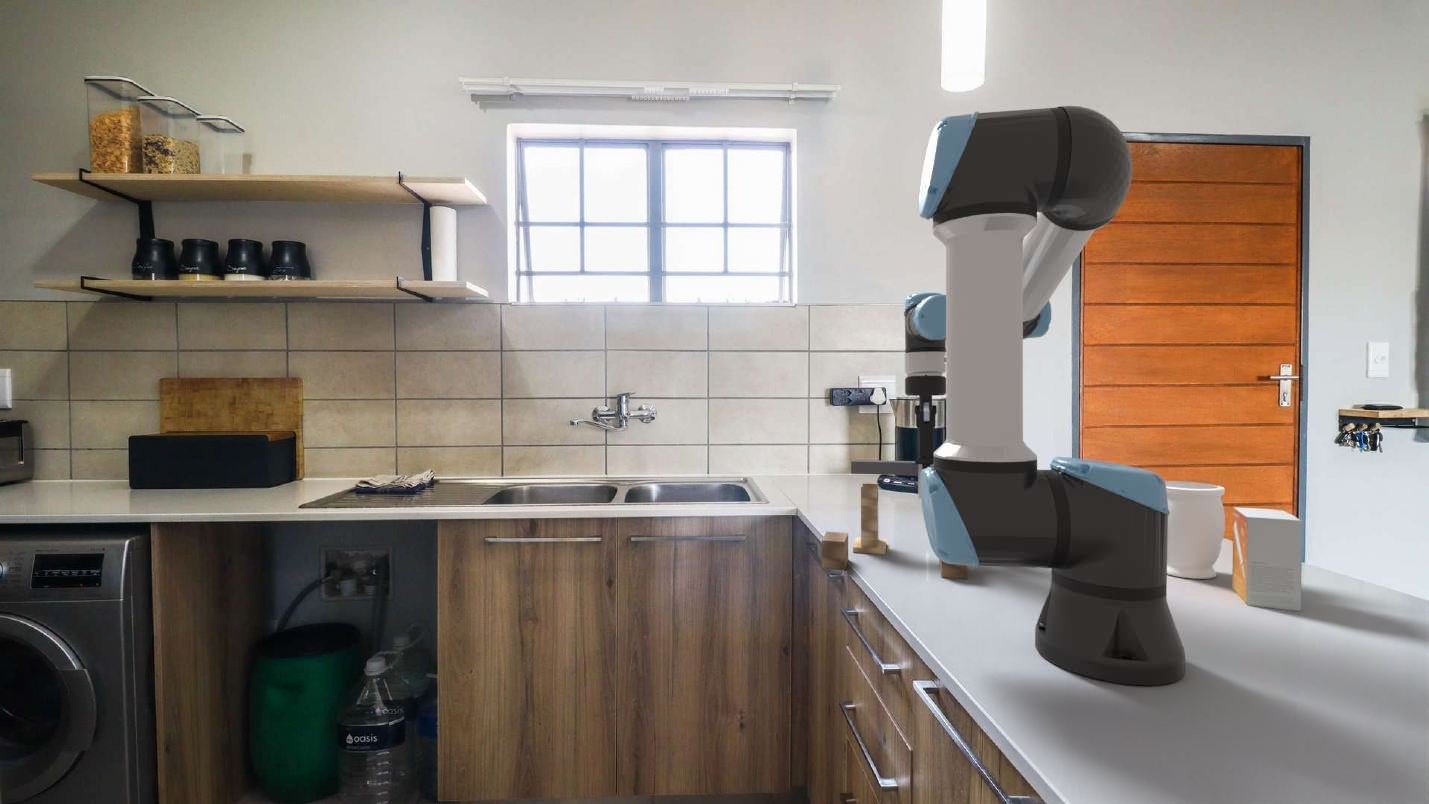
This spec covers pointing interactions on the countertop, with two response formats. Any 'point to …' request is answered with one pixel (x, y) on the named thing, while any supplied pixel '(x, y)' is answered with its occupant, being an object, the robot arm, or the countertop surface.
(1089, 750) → the countertop surface
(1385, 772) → the countertop surface
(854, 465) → the rail
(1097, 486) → the robot arm
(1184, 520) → the jar
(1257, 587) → the small box
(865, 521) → the hook stand
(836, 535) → the block
